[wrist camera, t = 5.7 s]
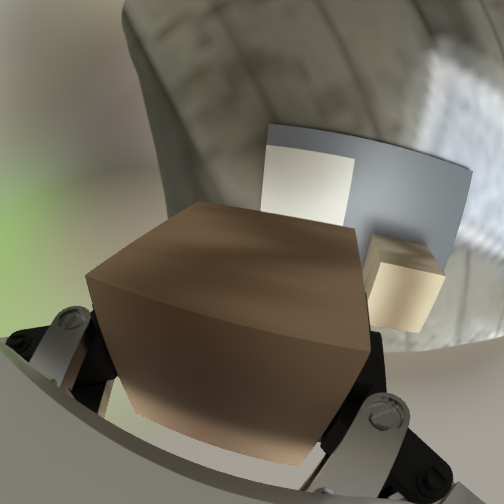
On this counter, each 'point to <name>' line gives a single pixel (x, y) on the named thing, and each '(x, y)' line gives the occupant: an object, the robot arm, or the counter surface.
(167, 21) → the counter surface
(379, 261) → the maple block
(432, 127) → the counter surface
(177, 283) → the walnut block
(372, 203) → the build board
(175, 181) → the counter surface
